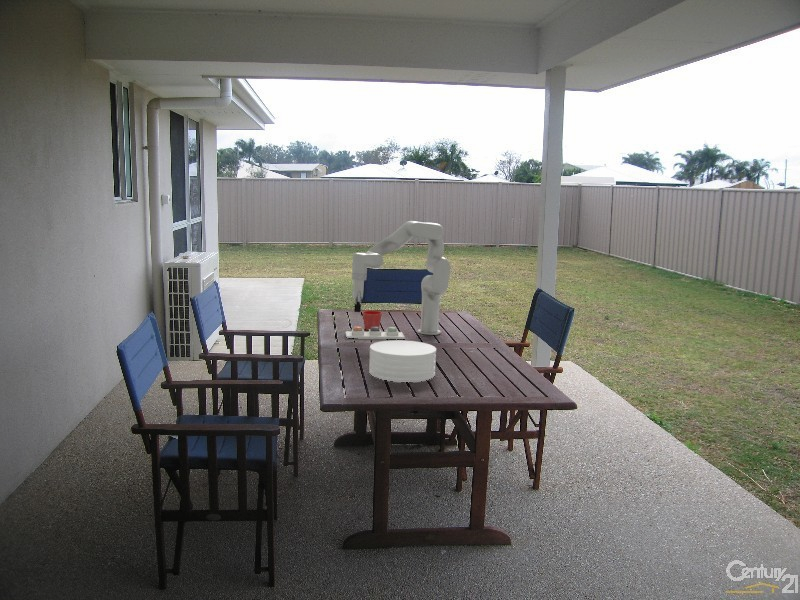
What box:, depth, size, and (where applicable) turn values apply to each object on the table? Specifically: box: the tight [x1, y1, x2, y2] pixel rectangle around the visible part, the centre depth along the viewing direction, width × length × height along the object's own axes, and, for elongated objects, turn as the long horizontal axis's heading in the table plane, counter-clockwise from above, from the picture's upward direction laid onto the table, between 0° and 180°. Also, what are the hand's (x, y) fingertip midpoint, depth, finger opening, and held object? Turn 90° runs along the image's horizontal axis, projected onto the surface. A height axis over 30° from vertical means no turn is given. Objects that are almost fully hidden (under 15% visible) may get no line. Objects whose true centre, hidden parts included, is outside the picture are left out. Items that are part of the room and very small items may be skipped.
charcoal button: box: [371, 326, 380, 331], centre depth 366 cm, size 4×4×2 cm
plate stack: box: [368, 340, 437, 384], centre depth 296 cm, size 28×28×12 cm
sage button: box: [387, 326, 397, 332], centre depth 367 cm, size 4×4×2 cm
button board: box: [345, 328, 406, 340], centre depth 366 cm, size 12×30×4 cm, turn 97°
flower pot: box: [362, 310, 383, 331], centre depth 384 cm, size 11×11×10 cm
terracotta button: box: [353, 325, 363, 331], centre depth 365 cm, size 4×4×2 cm
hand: (357, 311), depth 363 cm, fingers closed
